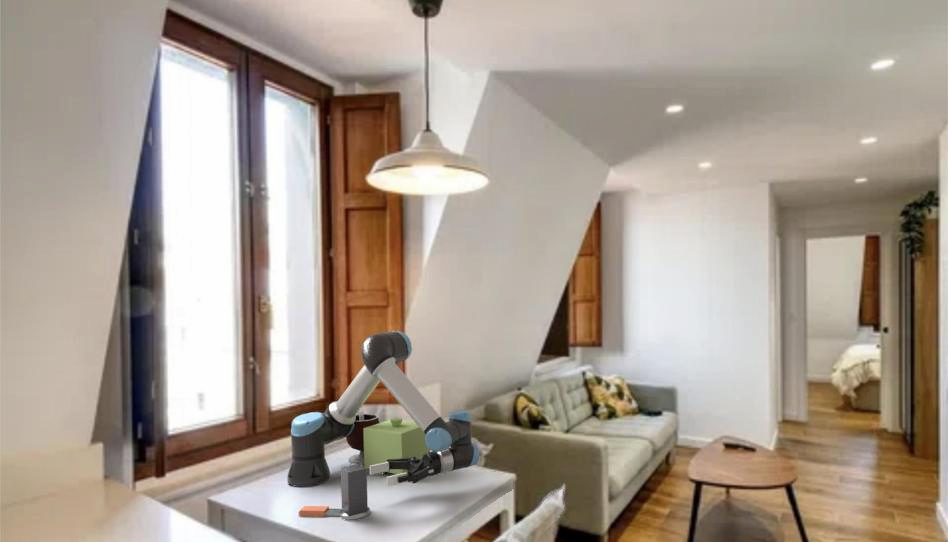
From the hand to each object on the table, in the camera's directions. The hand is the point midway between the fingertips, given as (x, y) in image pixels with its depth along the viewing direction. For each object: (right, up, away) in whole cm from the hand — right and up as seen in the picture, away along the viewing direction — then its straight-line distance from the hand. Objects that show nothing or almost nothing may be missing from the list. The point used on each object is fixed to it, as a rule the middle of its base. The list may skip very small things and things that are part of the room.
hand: (378, 475), depth 173 cm
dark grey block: (-6, -9, -5) cm, 12 cm away
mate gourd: (-15, -13, +52) cm, 56 cm away
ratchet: (-13, -11, -4) cm, 17 cm away
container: (+1, -12, +35) cm, 37 cm away
